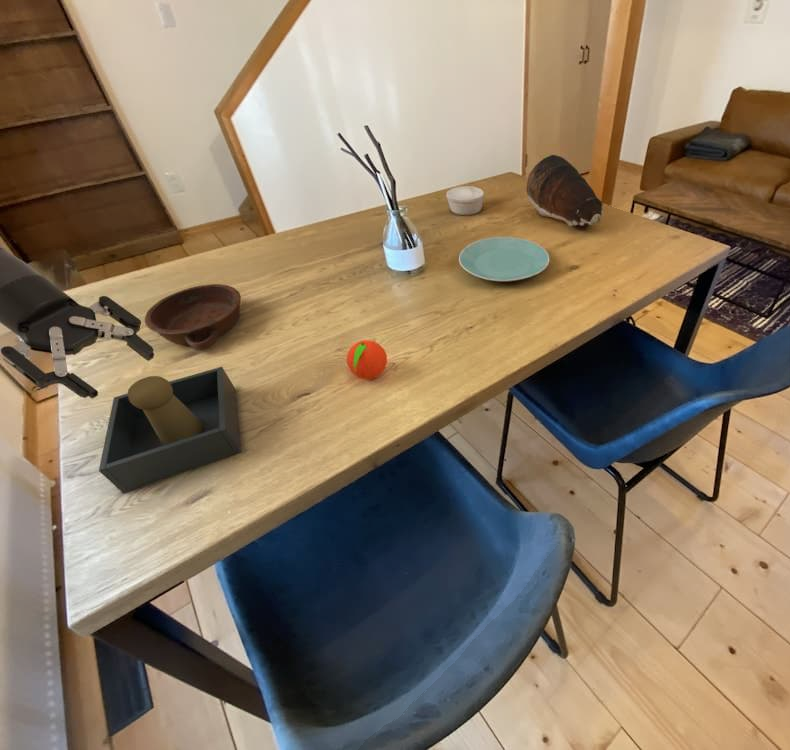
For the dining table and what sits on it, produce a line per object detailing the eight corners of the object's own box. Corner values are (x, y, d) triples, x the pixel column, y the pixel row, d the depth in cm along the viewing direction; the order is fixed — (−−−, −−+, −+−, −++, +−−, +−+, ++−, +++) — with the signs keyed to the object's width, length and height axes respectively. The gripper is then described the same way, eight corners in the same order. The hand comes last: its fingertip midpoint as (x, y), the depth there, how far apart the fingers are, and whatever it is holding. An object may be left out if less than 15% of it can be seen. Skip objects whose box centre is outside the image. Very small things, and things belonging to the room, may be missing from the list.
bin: (123, 493, 62) (98, 470, 58) (133, 420, 72) (113, 397, 69) (241, 452, 67) (225, 429, 63) (235, 389, 77) (222, 366, 74)
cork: (191, 448, 67) (151, 399, 60) (153, 448, 67) (108, 399, 60) (211, 419, 72) (176, 369, 64) (175, 419, 72) (136, 369, 64)
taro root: (584, 199, 108) (531, 153, 121) (565, 252, 120) (519, 205, 132) (627, 195, 115) (572, 152, 128) (605, 245, 126) (557, 201, 139)
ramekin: (491, 209, 135) (491, 191, 131) (466, 220, 129) (465, 202, 125) (466, 200, 140) (465, 183, 137) (440, 210, 134) (438, 193, 131)
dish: (239, 290, 102) (230, 270, 99) (259, 337, 89) (249, 317, 85) (154, 314, 95) (140, 295, 92) (161, 370, 82) (146, 349, 78)
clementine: (380, 393, 76) (371, 362, 71) (343, 389, 77) (331, 358, 72) (395, 363, 82) (388, 333, 77) (361, 359, 83) (351, 329, 78)
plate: (539, 243, 117) (540, 233, 115) (557, 286, 101) (558, 275, 99) (457, 249, 115) (456, 239, 114) (462, 294, 99) (461, 283, 97)
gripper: (-58, 308, 51) (74, 401, 56) (68, 253, 61) (171, 336, 65) (-45, 334, 56) (74, 417, 61) (69, 280, 66) (165, 355, 70)
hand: (125, 375), depth 63 cm, fingers open, 8 cm apart
